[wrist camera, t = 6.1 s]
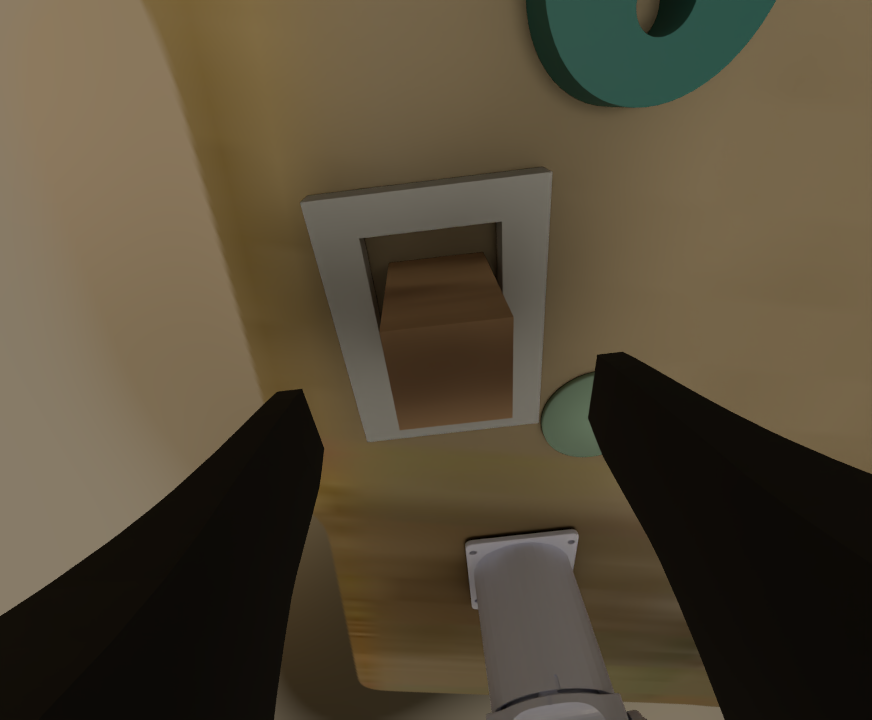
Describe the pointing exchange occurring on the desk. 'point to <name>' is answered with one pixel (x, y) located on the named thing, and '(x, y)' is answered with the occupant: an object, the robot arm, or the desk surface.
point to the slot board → (419, 211)
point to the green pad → (571, 419)
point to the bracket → (639, 46)
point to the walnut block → (447, 342)
